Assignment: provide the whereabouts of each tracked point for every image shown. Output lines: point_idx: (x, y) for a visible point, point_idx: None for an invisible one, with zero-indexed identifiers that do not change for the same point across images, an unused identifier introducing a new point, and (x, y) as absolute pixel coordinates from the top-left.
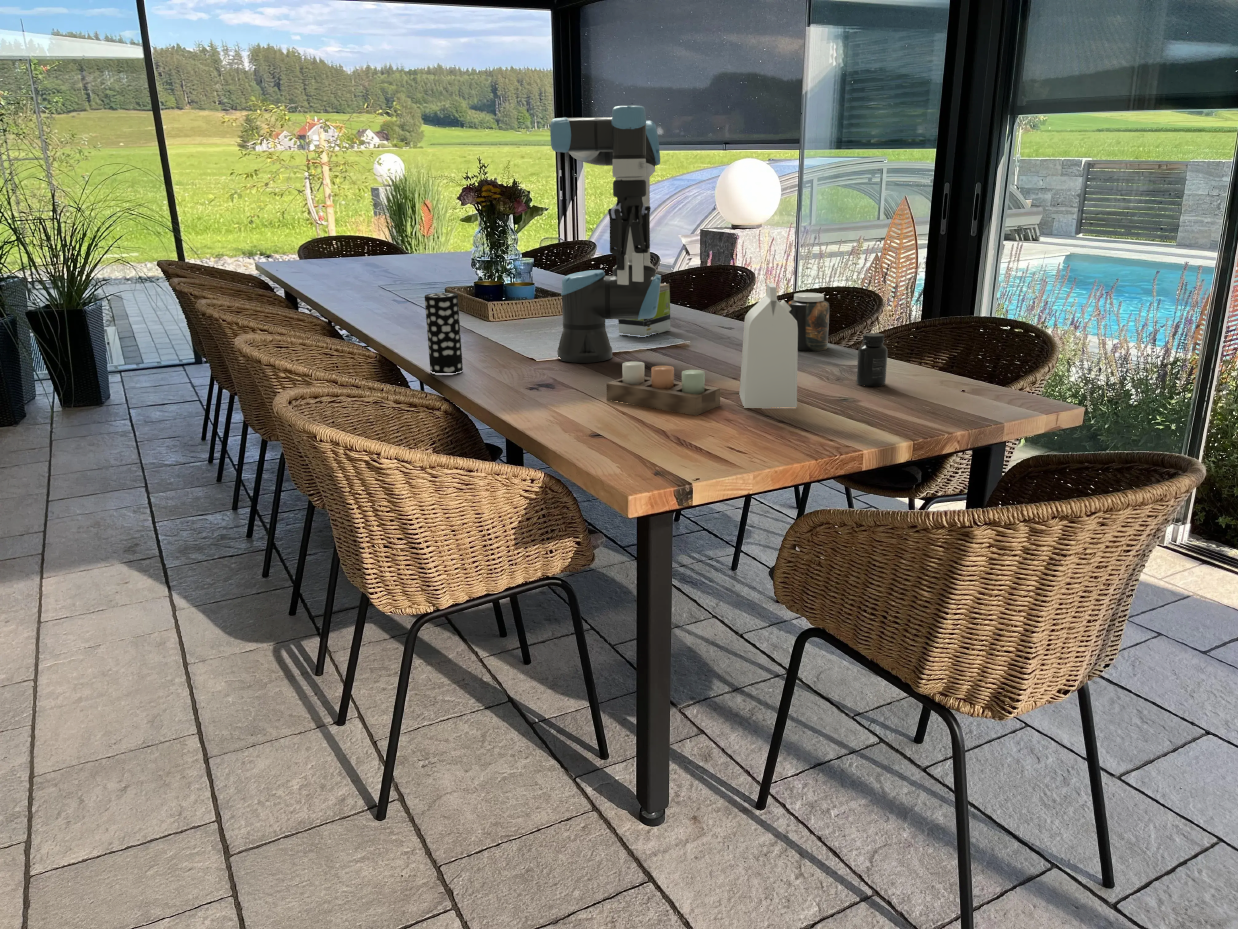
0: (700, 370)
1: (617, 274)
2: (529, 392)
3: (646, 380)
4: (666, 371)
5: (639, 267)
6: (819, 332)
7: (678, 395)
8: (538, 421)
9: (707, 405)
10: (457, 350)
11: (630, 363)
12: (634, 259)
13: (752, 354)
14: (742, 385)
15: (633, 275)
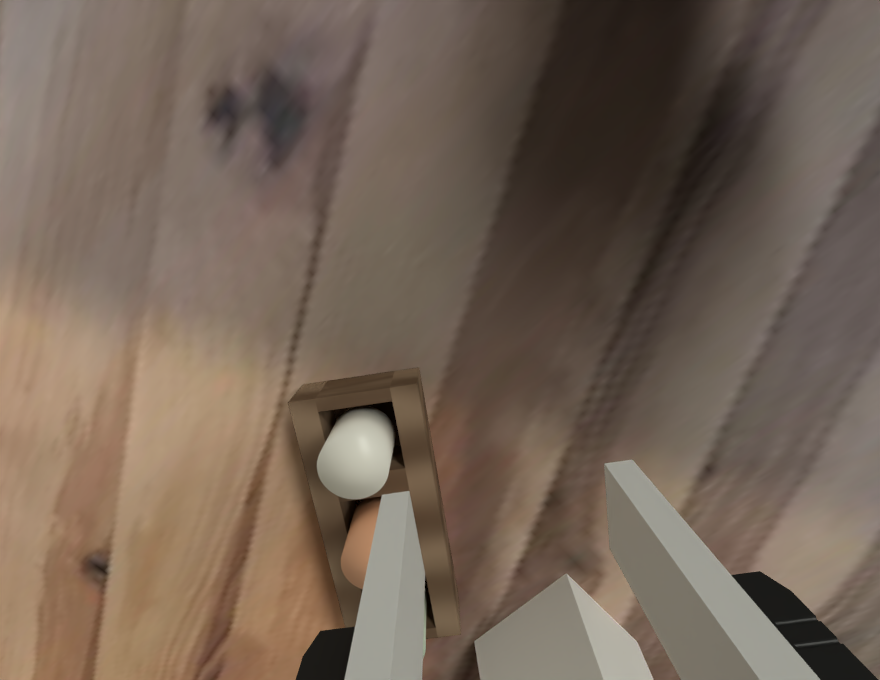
0: (424, 648)
1: (371, 555)
2: (189, 144)
3: (402, 451)
4: (360, 585)
5: (671, 637)
6: None
7: (340, 606)
8: (48, 405)
9: None
10: None
11: (349, 458)
12: (727, 670)
13: None
14: (532, 638)
15: (626, 504)
